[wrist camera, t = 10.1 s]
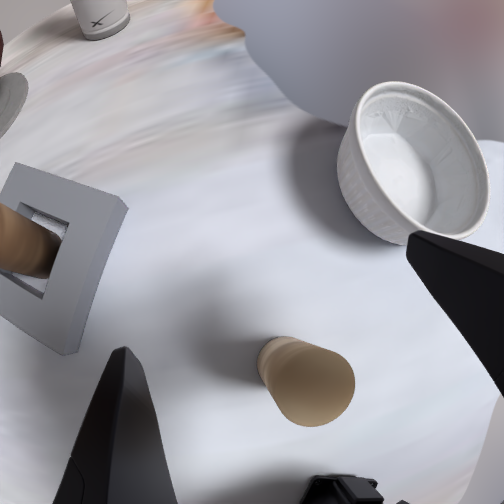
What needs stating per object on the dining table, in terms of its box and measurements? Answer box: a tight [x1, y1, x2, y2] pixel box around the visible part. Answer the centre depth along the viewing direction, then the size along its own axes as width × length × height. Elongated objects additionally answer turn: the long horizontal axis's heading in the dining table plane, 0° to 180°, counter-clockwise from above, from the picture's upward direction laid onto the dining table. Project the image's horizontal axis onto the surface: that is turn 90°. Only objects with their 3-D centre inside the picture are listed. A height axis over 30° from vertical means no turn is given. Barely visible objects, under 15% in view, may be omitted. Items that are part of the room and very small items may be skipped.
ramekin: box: [337, 81, 490, 245], centre depth 21 cm, size 13×13×7 cm
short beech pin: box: [257, 337, 355, 427], centre depth 17 cm, size 4×4×8 cm
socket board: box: [0, 162, 128, 356], centre depth 19 cm, size 12×12×2 cm
